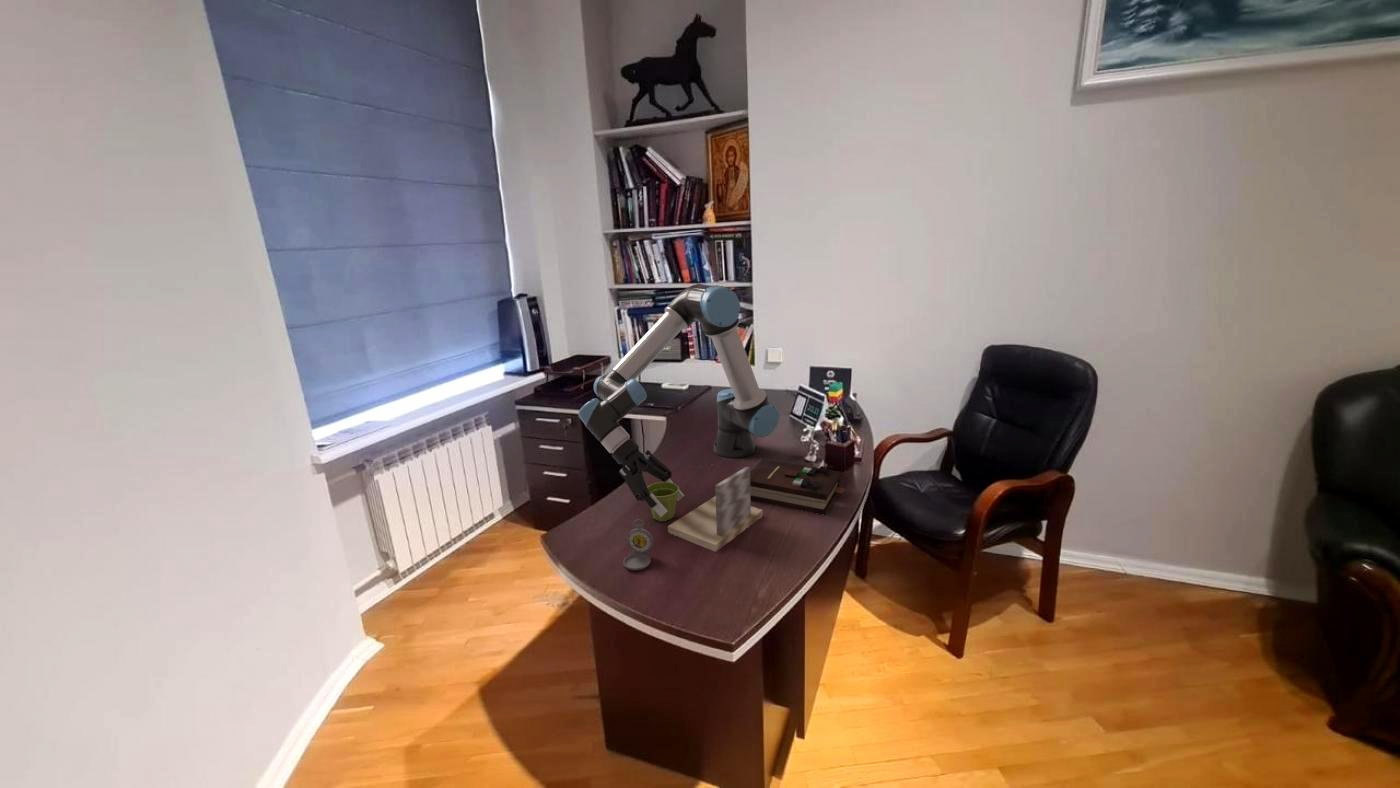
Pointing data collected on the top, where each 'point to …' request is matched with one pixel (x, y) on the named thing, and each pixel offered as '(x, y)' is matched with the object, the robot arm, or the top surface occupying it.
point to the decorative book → (795, 486)
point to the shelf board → (720, 514)
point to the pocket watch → (638, 548)
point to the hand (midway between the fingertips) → (672, 506)
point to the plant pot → (664, 498)
